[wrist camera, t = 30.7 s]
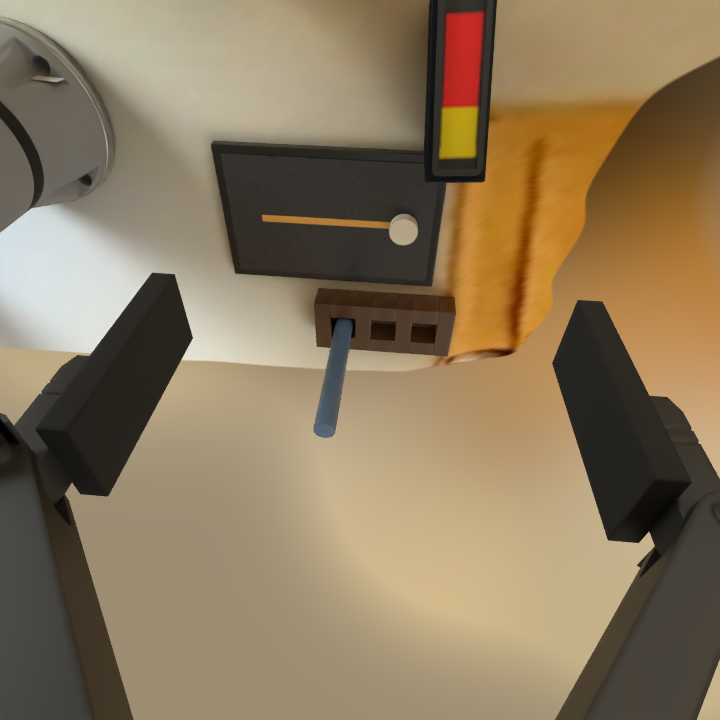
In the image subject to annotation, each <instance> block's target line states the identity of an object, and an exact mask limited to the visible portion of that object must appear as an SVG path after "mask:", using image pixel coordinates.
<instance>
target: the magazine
mask: <svg viewBox="0 0 720 720" xmlns="http://www.w3.org/2000/svg"><path fill="white" fill-rule="evenodd" d="M496 7H497V0H430V4H429V31H428V58H427V84H426V111H425V138H424V167H425V178H424V179H425V181H426V183H464V182H484V181H485V172H486V157H487V142H488V127H489V112H490V97H491V82H492V67H493V52H494V37H495V22H496Z"/></svg>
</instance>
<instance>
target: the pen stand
mask: <svg viewBox="0 0 720 720" xmlns="http://www.w3.org/2000/svg"><path fill="white" fill-rule="evenodd" d="M314 309H315V325H316V342H317V347H328V348H331V344H332V339H333V334H334V329H335V325H336V321H335V322H334V318H347V319H355V322H353V328H352V334H351V340H350V346H349V349H354V350H368V351H381V352H395V353H409V354H423V355H436V356H448V352H449V347H450V342H451V336H452V331H453V326H454V321H455V316H456V309H455V298H454V297H438V296H426V295H410V294H395V293H380V292H374V293H373V292H365V291H351V290H336V289H334V290H333V289H318V292H317V295H316V299H315V302H314ZM372 320H377V321H391V322H396V324H395V325H384V324H372ZM412 323H419V324H433V325H434V329H433V328H425V327H412Z"/></svg>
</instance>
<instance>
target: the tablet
mask: <svg viewBox="0 0 720 720" xmlns="http://www.w3.org/2000/svg"><path fill="white" fill-rule="evenodd" d="M211 147H212V152H213V158H214V163H215V168H216V174H217V179H218V184H219V189H220V195H221V200H222V205H223V210H224V216H225V221H226V226H227V232H228V237H229V242H230V247H231V253H232V258H233V263H234V268H235V273H236V274H251V275H266V276H281V277H296V278H312V279H327V280H342V281H357V282H373V283H388V284H403V285H418V286H432V281H433V274H434V267H435V260H436V253H437V246H438V239H439V232H440V225H441V218H442V211H443V204H444V197H445V190H446V183H426V181H425V179H424V178H425V167H424V151H409V150H389V149H369V148H348V147H328V146H308V145H288V144H267V143H247V142H227V141H213V142H212V143H211ZM400 214H408V215H411V216H412V217H414V218H415V220H416V221H417V224H418V235H417V237H416V239H415V240H414V241H413V242H412V243H410V244H408V245H398V244H396V243H395V242H393V241H392V239H391V238H390V235H389V228H390V223H391V221H392V219H393V218H394V217H395V216H397V215H400Z"/></svg>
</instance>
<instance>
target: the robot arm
mask: <svg viewBox="0 0 720 720" xmlns="http://www.w3.org/2000/svg"><path fill="white" fill-rule="evenodd" d="M114 153H115V141H114V133H113V128H112V124H111V121H110V118H109V115H108V112H107V110H106V107H105V105H104V103H103V101H102V99H101V97H100V95H99V93H98V92H97V90H96V88H95V87H94V85H93V83H92V82H91V81H90V79H89V78H88V77H87V75H86V74H85V73H84V71H83V70H82V69H81V68H80V66H79V65H78V64H77V63H76V62H75V61H74V60H73V59H72V58H71V57H70V56H69V55H68V54H67V53H66V52H65V51H64V50H63V49H62V48H60V47H59V46H58V45H57V44H56V43H54V42H53V41H52V40H50V39H49V38H47V37H46V36H45V35H43V34H41V33H40V32H38V31H37V30H35V29H33V28H31V27H29V26H27V25H25V24H22V23H20V22H18V21H15V20H12V19H9V18H5V17H0V232H1V231H3V230H4V229H5V228H6V227H8V226H9V225H10V224H12V223H13V222H14V221H15V220H17V219H18V218H19V217H21V216H22V215H23V214H24V213H26V212H27V211H28V210H30V209H31V208H35V207H41V206H47V205H52V204H58V203H64V202H69V201H73V200H76V199H78V198H81V197H83V196H85V195H87V194H89V193H90V192H91V191H93V190H94V189H95V188H96V187H98V186H99V185H100V184H101V183H102V182H103V181H104V180H105V178H106V177H107V176H108V174H109V172H110V170H111V167H112V164H113V160H114ZM192 339H193V337H192V333H191V330H190V326H189V323H188V319H187V316H186V312H185V309H184V305H183V302H182V298H181V295H180V291H179V288H178V285H177V281H176V278H175V274H161V273H152V274H151V275H150V276H149V278H148V279H147V280H146V282H145V283H144V284H143V286H142V287H141V288H140V290H139V291H138V292H137V294H136V295H135V296H134V298H133V299H132V300H131V302H130V303H129V304H128V306H127V307H126V308H125V310H124V311H123V312H122V314H121V315H120V316H119V318H118V319H117V320H116V322H115V323H114V324H113V326H112V327H111V328H110V330H109V331H108V332H107V334H106V335H105V336H104V337H103V339H102V340H101V341H100V343H99V344H98V345H97V347H96V348H95V349H94V351H93V352H92V353H91V355H90V356H80V355H77V356H76V357H74V358H73V359H71V360H70V361H69V362H68V363H66V364H64V365H63V366H62V367H61V368H60V369H59V370H58V371H57V373H56V374H55V375H54V376H53V378H52V379H51V380H50V383H48V384H47V385H46V386H45V388H44V389H43V390H42V394H39V395H38V396H37V398H36V399H35V400H34V402H33V403H32V404H31V405H30V407H29V408H28V409H27V410H26V411H25V413H24V414H23V415H22V417H21V418H20V419H19V420H18V422H17V423H16V424H15V425H14V426H13V424H12V423H11V422H10V420H9V419H8V418H7V417H6V415H4V414H1V413H0V720H133V716H132V713H131V710H130V706H129V703H128V699H127V696H126V693H125V689H124V686H123V682H122V679H121V676H120V672H119V669H118V666H117V663H116V659H115V656H114V652H113V649H112V645H111V642H110V638H109V635H108V632H107V628H106V625H105V621H104V618H103V615H102V611H101V608H100V605H99V601H98V598H97V594H96V591H95V588H94V584H93V581H92V577H91V574H90V571H89V568H88V564H87V561H86V557H85V554H84V550H83V547H82V543H81V540H80V537H79V533H78V530H77V527H76V523H75V520H74V517H73V513H72V510H71V506H70V503H69V500H68V499H67V497H66V496H65V493H66V491H67V489H68V488H69V486H70V484H71V483H73V484H74V486H75V487H76V488H77V490H78V491H79V493H80V494H86V495H96V496H109V494H110V492H111V490H112V488H113V486H114V485H115V483H116V481H117V479H118V477H119V475H120V473H121V471H122V469H123V468H124V466H125V464H126V462H127V460H128V458H129V457H130V454H131V453H132V451H133V449H134V447H135V445H136V443H137V441H138V440H139V438H140V436H141V434H142V432H143V430H144V428H145V427H146V425H147V423H148V421H149V419H150V417H151V415H152V414H153V411H154V410H155V408H156V406H157V404H158V402H159V400H160V399H161V397H162V394H163V393H164V391H165V389H166V387H167V385H168V384H169V381H170V380H171V378H172V376H173V374H174V372H175V370H176V368H177V366H178V365H179V363H180V361H181V359H182V357H183V356H184V354H185V352H186V350H187V348H188V346H189V344H190V342H191V341H192ZM552 364H553V367H554V370H555V373H556V377H557V380H558V383H559V386H560V390H561V393H562V396H563V399H564V402H565V405H566V408H567V411H568V415H569V418H570V421H571V425H572V428H573V431H574V434H575V437H576V440H577V443H578V447H579V450H580V453H581V456H582V459H583V462H584V466H585V469H586V472H587V475H588V478H589V482H590V485H591V488H592V491H593V494H594V497H595V501H596V504H597V507H598V510H599V513H600V517H601V519H602V523H603V526H604V529H605V532H606V535H607V539H608V540H611V541H623V542H633V543H639V542H640V541H641V540H642V539H643V538H644V536H645V535H646V534H647V533H648V532H650V534H651V537H652V540H653V542H654V544H655V547H654V548H653V549H652V550H651V551H650V552H649V553H648V554H647V555H646V556H645V557H644V558H643V559H642V560H641V562H640V563H639V564H638V565H637V566H639V567H640V570H639V572H638V574H637V575H636V577H635V579H634V581H633V583H632V584H631V586H630V588H629V589H628V591H627V593H626V595H625V596H624V598H623V600H622V602H621V604H620V605H619V607H618V609H617V611H616V612H615V614H614V616H613V618H612V620H611V622H610V623H609V625H608V627H607V628H606V630H605V632H604V634H603V636H602V637H601V639H600V641H599V643H598V644H597V647H596V648H595V650H594V652H593V653H592V655H591V657H590V659H589V660H588V662H587V664H586V666H585V667H584V670H583V671H582V673H581V675H580V676H579V678H578V680H577V682H576V683H575V685H574V687H573V689H572V691H571V692H570V694H569V696H568V698H567V700H566V701H565V703H564V705H563V707H562V708H561V710H560V712H559V714H558V715H557V717H556V719H555V720H697V717H698V715H699V712H700V709H701V707H702V704H703V701H704V699H705V696H706V694H707V691H708V688H709V686H710V683H711V681H712V678H713V675H714V672H715V670H716V667H717V665H718V662H719V659H720V479H719V477H718V476H717V473H716V471H715V470H714V468H713V466H712V464H711V462H710V461H709V459H708V457H707V455H706V453H705V451H704V450H703V448H702V446H701V444H699V443H698V439H697V437H696V435H695V433H694V432H693V431H691V426H690V424H689V422H688V421H687V419H686V417H685V415H684V414H683V412H682V411H681V410H680V409H679V408H678V407H677V406H676V405H675V404H674V403H673V402H672V401H671V400H670V399H669V398H667V397H658V396H649V394H648V392H647V390H646V388H645V386H644V384H643V382H642V380H641V378H640V376H639V374H638V372H637V370H636V368H635V366H634V364H633V362H632V360H631V358H630V356H629V354H628V352H627V350H626V348H625V346H624V344H623V342H622V340H621V338H620V336H619V334H618V332H617V330H616V328H615V326H614V324H613V322H612V320H611V318H610V316H609V314H608V312H607V310H606V308H605V306H604V304H603V302H600V301H585V300H584V301H583V300H578V301H577V303H576V306H575V308H574V311H573V313H572V316H571V318H570V320H569V323H568V326H567V328H566V330H565V333H564V335H563V338H562V340H561V343H560V345H559V348H558V350H557V353H556V356H555V358H554V360H553V363H552Z"/></svg>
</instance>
